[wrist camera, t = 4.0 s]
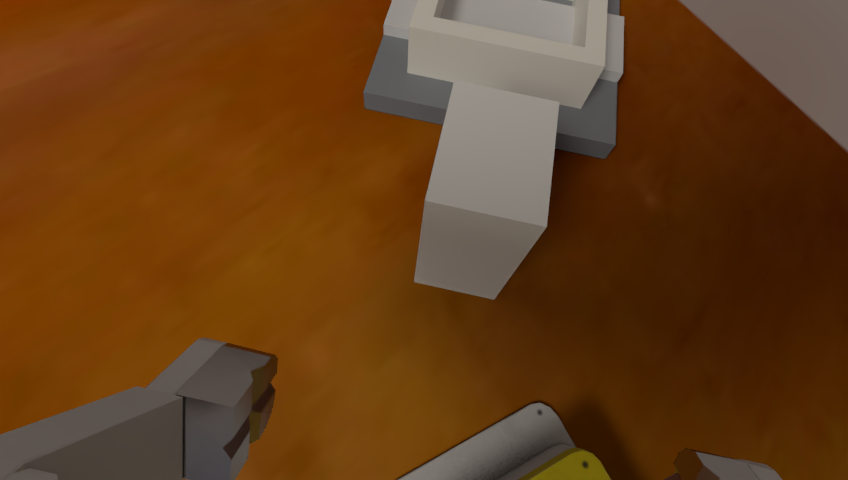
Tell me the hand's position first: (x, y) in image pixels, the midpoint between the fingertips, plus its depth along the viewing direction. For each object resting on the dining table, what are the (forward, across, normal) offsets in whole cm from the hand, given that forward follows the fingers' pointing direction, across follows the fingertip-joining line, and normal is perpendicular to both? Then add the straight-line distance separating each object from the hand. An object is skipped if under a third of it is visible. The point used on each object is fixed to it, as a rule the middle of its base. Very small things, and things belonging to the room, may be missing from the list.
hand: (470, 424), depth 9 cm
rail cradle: (+28, 0, -9) cm, 30 cm away
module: (+17, 0, +2) cm, 17 cm away
